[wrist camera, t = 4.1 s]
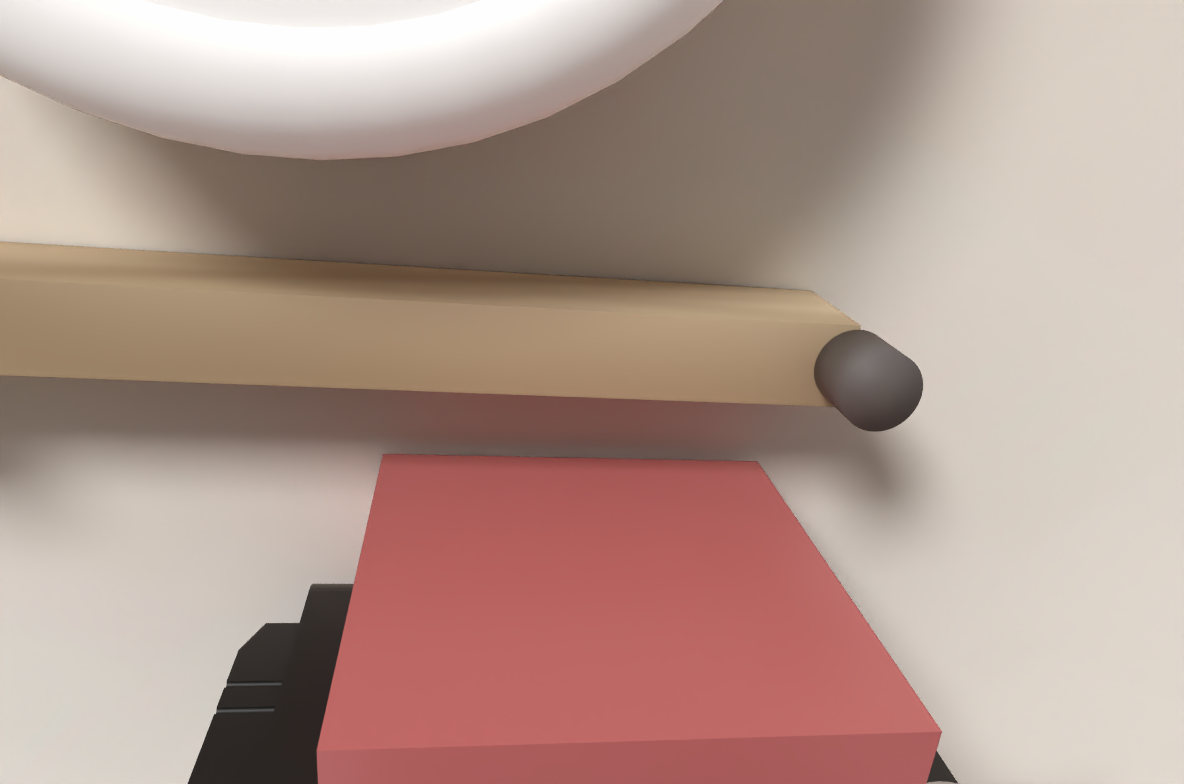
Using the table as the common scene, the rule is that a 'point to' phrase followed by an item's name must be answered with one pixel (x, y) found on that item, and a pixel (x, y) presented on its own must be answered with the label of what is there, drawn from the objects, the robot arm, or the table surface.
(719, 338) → the rails
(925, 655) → the table surface
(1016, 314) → the table surface
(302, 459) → the table surface
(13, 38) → the white plate stack
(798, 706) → the die
